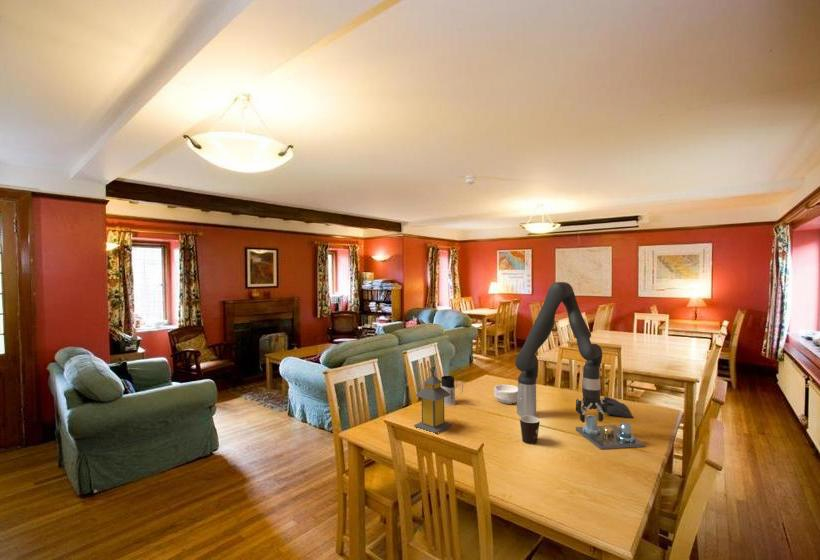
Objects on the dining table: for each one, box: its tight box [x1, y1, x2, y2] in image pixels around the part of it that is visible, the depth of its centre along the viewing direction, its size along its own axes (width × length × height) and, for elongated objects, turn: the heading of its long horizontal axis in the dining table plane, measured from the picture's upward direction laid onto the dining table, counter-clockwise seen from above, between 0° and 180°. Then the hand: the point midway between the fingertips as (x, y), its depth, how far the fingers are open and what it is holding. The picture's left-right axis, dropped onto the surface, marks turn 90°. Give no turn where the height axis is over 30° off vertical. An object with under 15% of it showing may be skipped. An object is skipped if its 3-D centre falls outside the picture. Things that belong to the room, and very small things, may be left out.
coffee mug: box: [519, 416, 541, 445], centre depth 174 cm, size 12×9×10 cm
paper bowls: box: [493, 384, 518, 405], centre depth 226 cm, size 15×15×8 cm
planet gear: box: [581, 414, 601, 434], centre depth 180 cm, size 8×8×7 cm
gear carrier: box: [575, 421, 645, 450], centre depth 175 cm, size 20×20×8 cm
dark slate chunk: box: [599, 396, 635, 419], centre depth 210 cm, size 15×22×5 cm
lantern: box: [414, 366, 453, 435], centre depth 191 cm, size 14×14×30 cm
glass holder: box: [440, 375, 464, 406], centre depth 223 cm, size 9×14×15 cm, turn 54°
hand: (591, 421), depth 180 cm, fingers open, 8 cm apart
